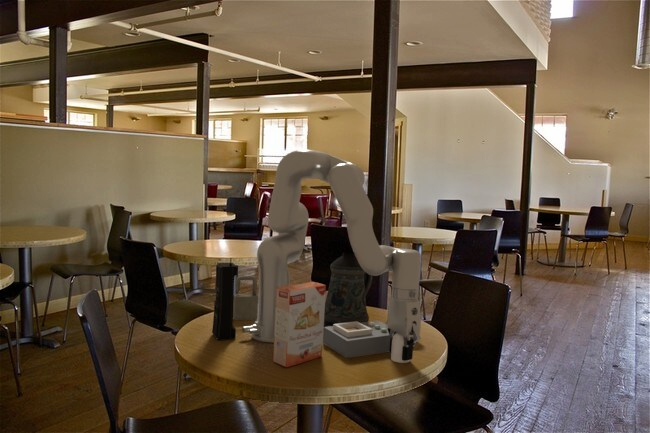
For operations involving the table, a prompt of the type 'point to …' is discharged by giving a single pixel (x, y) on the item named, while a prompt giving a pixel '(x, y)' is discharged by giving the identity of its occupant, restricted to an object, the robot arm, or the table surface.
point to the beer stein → (347, 291)
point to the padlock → (245, 301)
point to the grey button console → (357, 338)
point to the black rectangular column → (224, 301)
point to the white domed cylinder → (398, 348)
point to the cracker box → (299, 323)
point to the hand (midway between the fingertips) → (400, 355)
